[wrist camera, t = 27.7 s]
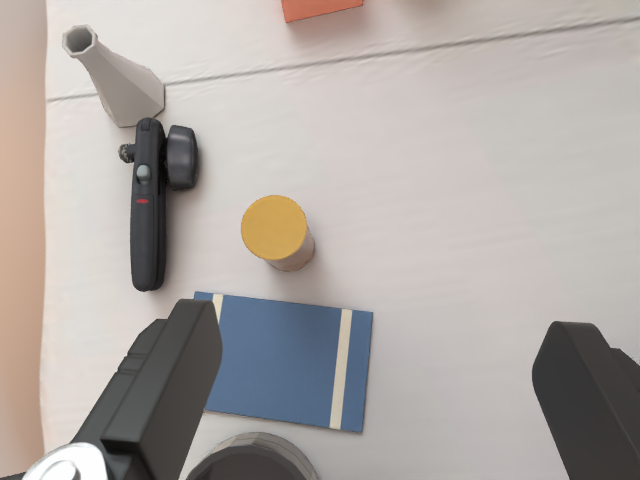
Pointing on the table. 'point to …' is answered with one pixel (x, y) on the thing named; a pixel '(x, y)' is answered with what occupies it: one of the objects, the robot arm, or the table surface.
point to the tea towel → (291, 361)
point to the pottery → (314, 7)
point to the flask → (116, 78)
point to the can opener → (155, 193)
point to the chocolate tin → (278, 233)
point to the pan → (254, 460)
